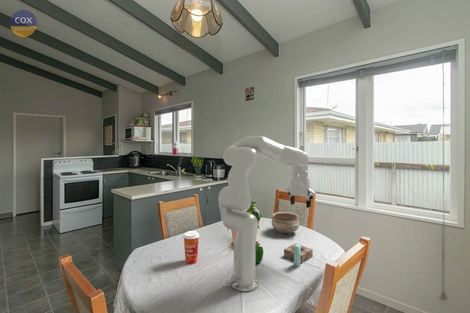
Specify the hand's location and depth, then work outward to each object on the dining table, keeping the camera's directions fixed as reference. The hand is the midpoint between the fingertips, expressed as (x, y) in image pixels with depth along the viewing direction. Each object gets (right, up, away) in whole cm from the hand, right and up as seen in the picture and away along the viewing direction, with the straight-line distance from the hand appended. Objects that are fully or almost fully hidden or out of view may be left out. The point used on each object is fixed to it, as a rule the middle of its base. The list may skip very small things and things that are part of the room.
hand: (300, 205), depth 132 cm
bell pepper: (-26, -28, -7) cm, 39 cm away
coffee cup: (-59, -28, -6) cm, 65 cm away
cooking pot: (-1, -26, +36) cm, 44 cm away
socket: (-1, -28, 0) cm, 28 cm away
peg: (-4, -28, -10) cm, 30 cm away
